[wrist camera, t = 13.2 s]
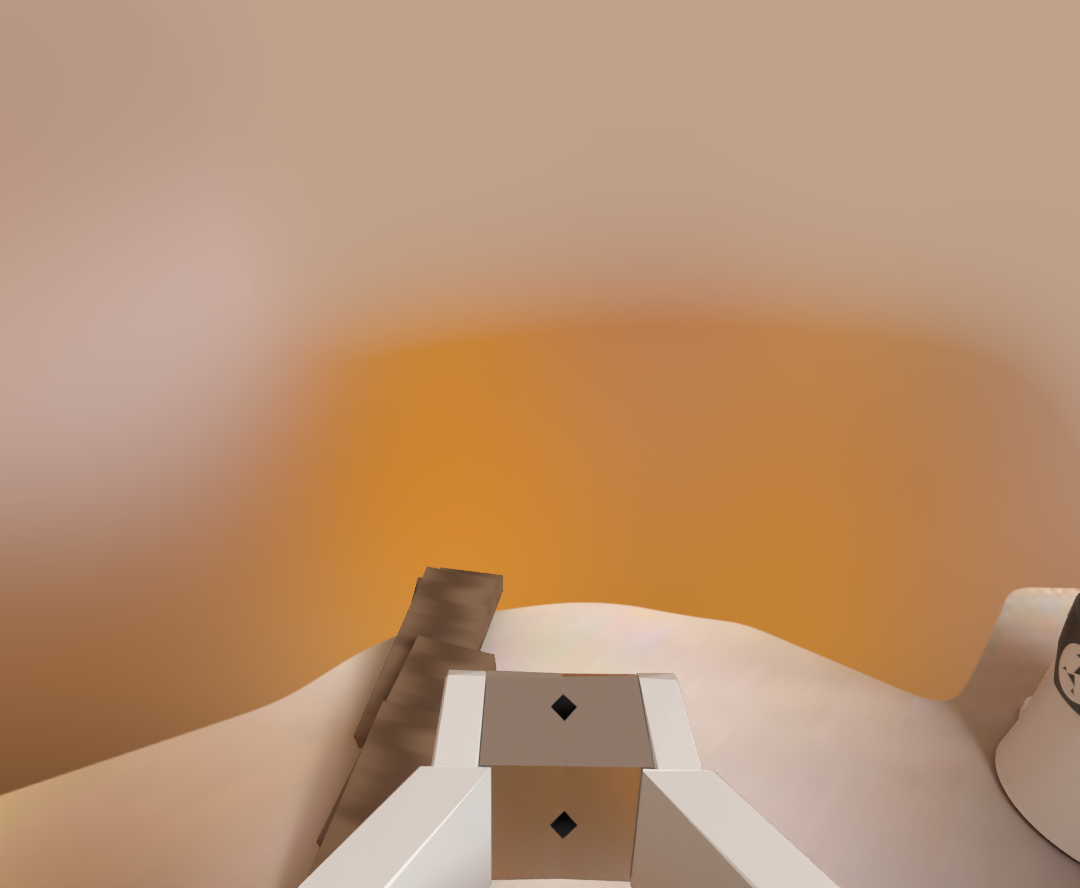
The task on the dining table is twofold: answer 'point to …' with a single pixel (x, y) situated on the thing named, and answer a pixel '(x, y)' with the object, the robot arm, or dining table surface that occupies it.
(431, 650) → the domino
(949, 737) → the dining table surface
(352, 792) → the domino
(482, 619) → the domino
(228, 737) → the dining table surface
